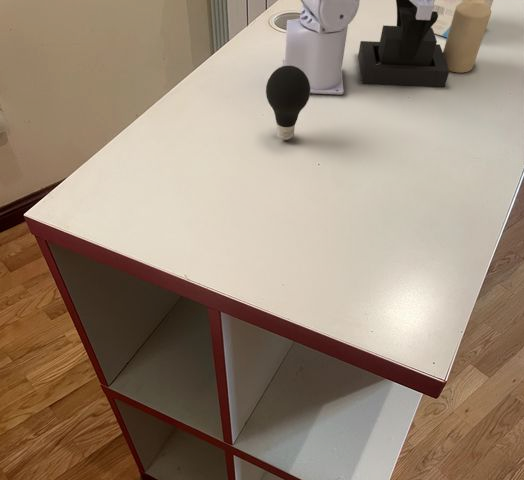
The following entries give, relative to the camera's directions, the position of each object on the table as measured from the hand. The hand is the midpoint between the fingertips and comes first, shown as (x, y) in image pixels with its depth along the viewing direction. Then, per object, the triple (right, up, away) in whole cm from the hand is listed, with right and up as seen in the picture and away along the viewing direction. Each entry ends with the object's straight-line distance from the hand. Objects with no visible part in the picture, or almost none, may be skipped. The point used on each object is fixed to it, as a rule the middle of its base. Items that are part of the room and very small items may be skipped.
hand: (404, 50), depth 84 cm
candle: (+10, 0, +5) cm, 11 cm away
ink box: (+13, +11, +13) cm, 21 cm away
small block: (0, -1, +1) cm, 1 cm away
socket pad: (0, -2, +3) cm, 3 cm away
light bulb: (-20, -19, -10) cm, 29 cm away
